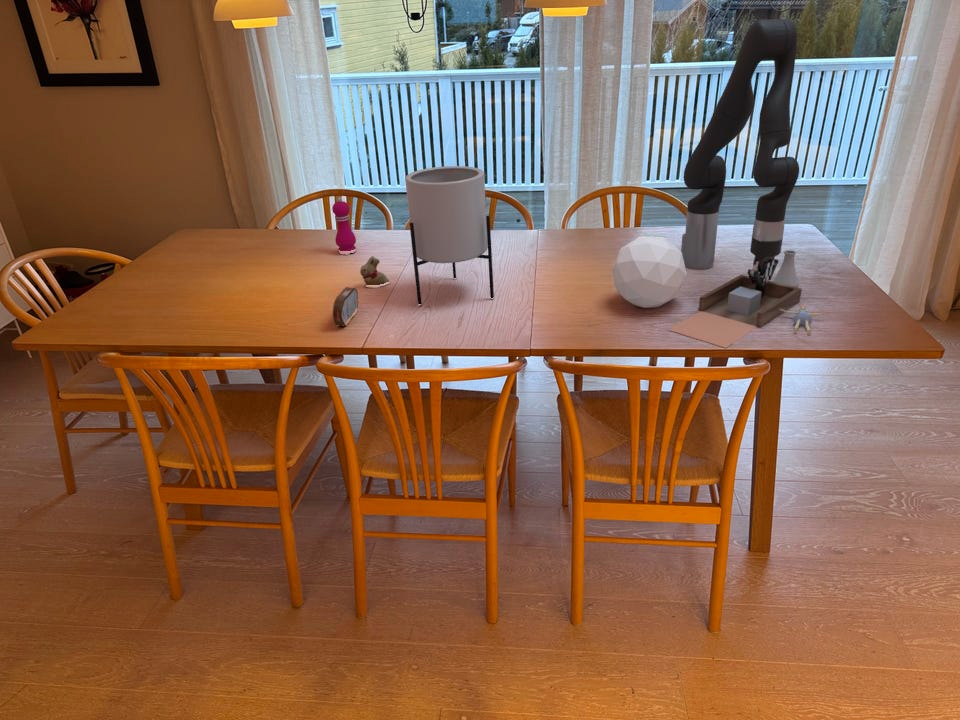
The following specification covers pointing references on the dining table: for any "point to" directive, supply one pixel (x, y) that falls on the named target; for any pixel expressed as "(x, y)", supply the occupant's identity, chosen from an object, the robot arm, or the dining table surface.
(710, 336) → the terracotta mat
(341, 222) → the pepper mill
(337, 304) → the tin
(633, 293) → the geometric orb
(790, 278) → the flask
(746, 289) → the slate block
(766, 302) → the walnut cubby
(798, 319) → the fairy figurine
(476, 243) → the plant pot with stand
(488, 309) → the dining table surface
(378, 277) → the chocolate bunny
